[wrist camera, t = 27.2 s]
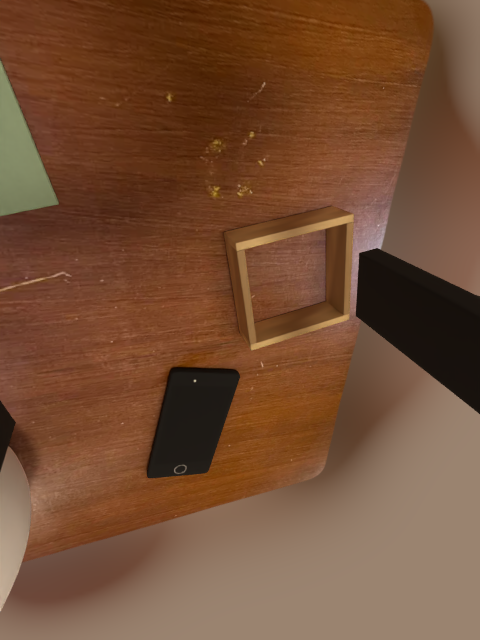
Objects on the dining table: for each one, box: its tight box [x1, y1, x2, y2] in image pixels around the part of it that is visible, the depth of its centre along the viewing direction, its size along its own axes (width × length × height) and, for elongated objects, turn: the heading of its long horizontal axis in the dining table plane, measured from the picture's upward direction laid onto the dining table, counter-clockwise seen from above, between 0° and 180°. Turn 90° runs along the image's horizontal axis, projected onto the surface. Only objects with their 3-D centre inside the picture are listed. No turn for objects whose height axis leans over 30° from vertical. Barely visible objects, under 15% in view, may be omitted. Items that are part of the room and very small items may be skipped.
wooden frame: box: [224, 206, 354, 351], centre depth 38 cm, size 13×13×4 cm
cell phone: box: [147, 368, 240, 478], centre depth 46 cm, size 9×18×1 cm, turn 163°
